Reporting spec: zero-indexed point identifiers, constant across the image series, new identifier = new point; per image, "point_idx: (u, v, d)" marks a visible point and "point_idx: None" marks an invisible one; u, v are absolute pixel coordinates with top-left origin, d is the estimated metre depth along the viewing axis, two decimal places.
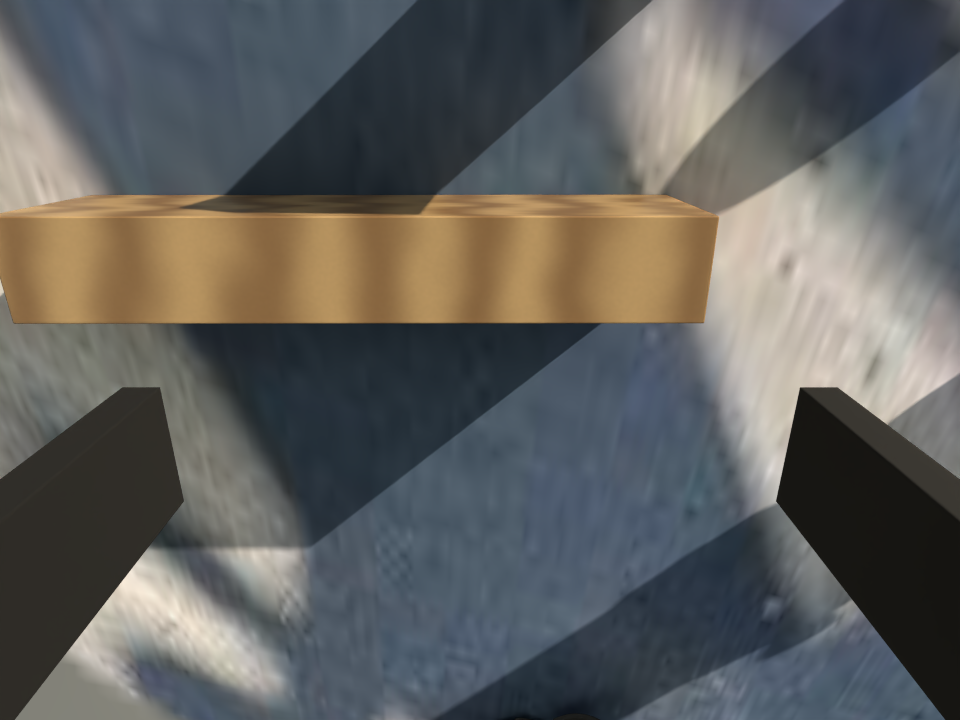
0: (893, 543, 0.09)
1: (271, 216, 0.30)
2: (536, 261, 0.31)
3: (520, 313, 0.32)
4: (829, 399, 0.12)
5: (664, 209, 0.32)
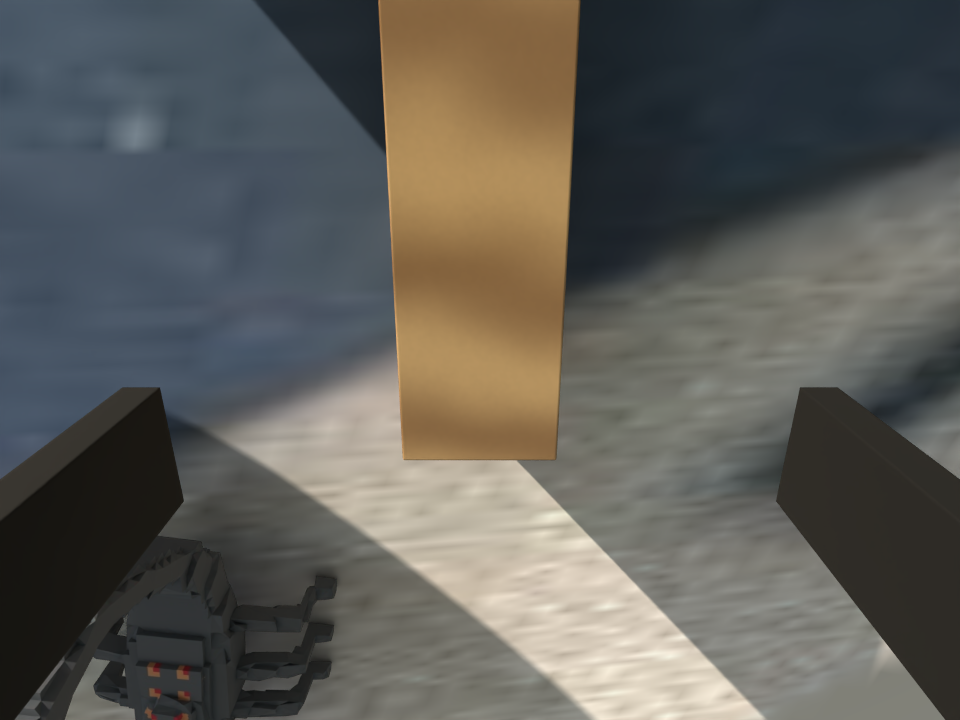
0: (893, 543, 0.09)
1: (379, 10, 0.17)
2: None
3: None
4: (829, 399, 0.12)
5: None
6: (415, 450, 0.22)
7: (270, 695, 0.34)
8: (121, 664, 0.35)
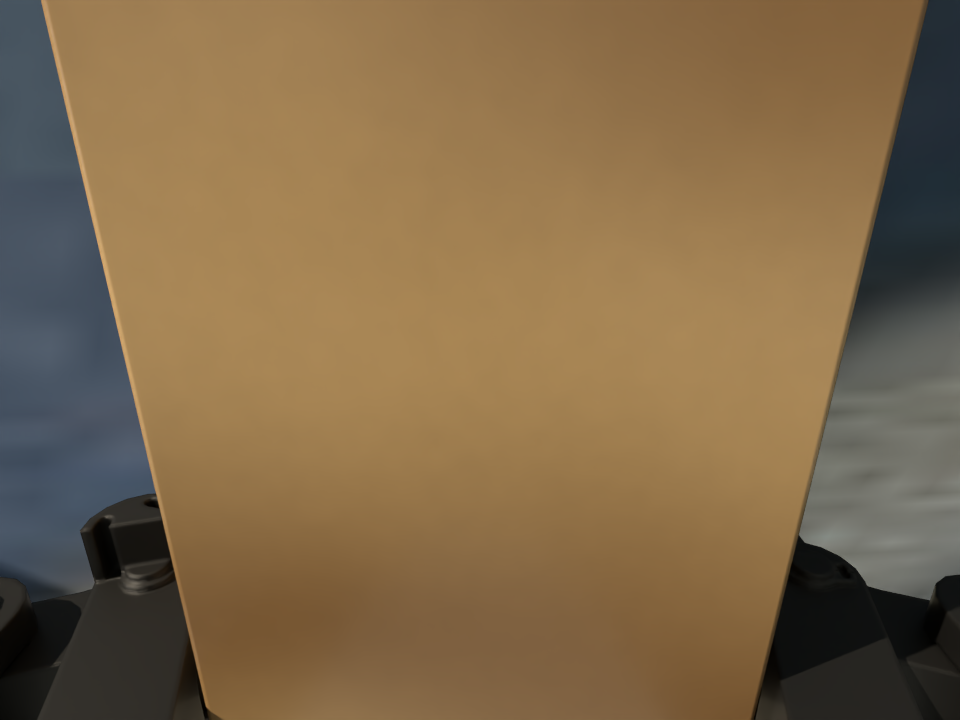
0: None
1: None
2: None
3: None
4: None
5: None
6: None
7: None
8: None
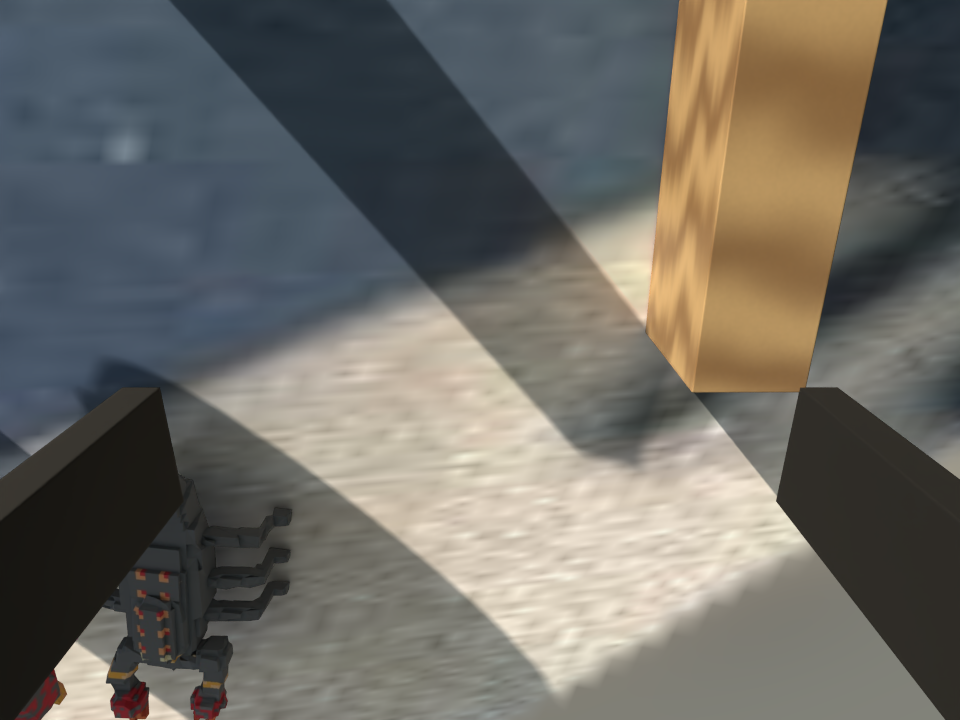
0: (893, 543, 0.09)
1: (735, 71, 0.25)
2: None
3: None
4: (829, 399, 0.12)
5: None
6: (702, 385, 0.29)
7: (236, 604, 0.42)
8: None
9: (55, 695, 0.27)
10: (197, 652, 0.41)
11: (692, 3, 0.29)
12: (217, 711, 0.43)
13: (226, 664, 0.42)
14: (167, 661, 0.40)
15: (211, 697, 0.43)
